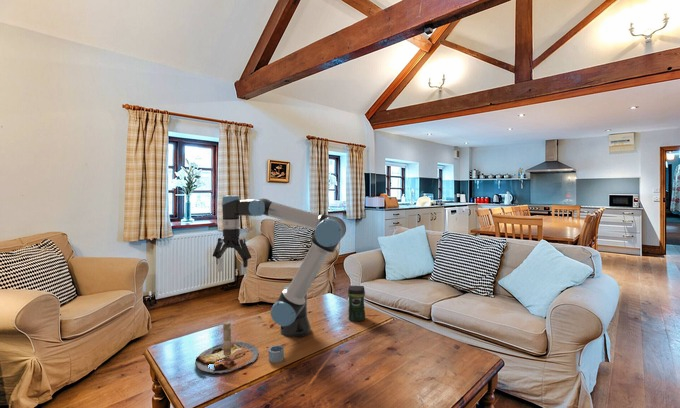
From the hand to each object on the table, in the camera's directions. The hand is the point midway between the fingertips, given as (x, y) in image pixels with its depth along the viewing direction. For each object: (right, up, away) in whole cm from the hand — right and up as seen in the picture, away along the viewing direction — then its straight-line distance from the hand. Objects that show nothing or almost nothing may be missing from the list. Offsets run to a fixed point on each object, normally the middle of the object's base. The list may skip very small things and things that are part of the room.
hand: (232, 272), depth 149 cm
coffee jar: (+61, -32, +26) cm, 73 cm away
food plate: (+4, -34, -16) cm, 38 cm away
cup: (+24, -33, -17) cm, 45 cm away
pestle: (+3, -31, -16) cm, 35 cm away
